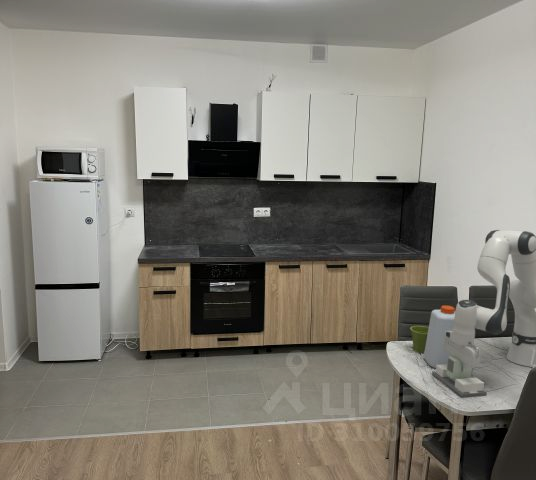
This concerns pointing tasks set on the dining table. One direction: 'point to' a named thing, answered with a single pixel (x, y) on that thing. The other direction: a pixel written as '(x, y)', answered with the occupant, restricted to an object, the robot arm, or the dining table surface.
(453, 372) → the block
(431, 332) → the plastic bottle
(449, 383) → the board
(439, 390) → the dining table surface
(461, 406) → the dining table surface
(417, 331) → the plant pot
